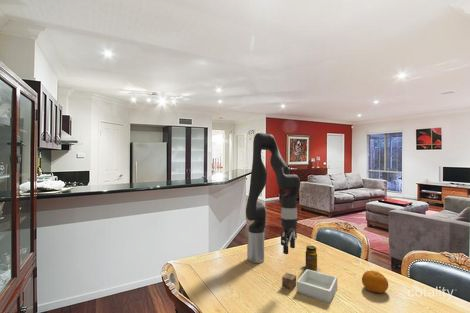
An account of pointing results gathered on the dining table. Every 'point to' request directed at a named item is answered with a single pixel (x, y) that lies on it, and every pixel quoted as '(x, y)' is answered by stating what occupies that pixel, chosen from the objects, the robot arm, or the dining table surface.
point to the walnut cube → (289, 281)
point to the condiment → (311, 259)
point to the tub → (317, 285)
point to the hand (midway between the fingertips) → (289, 250)
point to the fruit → (374, 281)
